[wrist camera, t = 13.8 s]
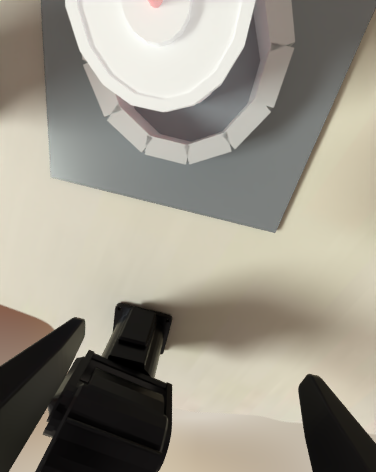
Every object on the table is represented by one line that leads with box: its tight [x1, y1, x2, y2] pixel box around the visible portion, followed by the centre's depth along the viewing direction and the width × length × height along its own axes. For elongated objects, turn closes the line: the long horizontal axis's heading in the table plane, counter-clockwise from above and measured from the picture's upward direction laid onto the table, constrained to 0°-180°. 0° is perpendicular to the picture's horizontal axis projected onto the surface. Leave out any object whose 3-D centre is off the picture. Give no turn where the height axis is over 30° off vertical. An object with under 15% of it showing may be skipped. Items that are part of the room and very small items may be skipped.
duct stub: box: [41, 0, 376, 233], centre depth 14 cm, size 20×20×4 cm
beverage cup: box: [65, 0, 256, 112], centre depth 9 cm, size 6×6×14 cm
